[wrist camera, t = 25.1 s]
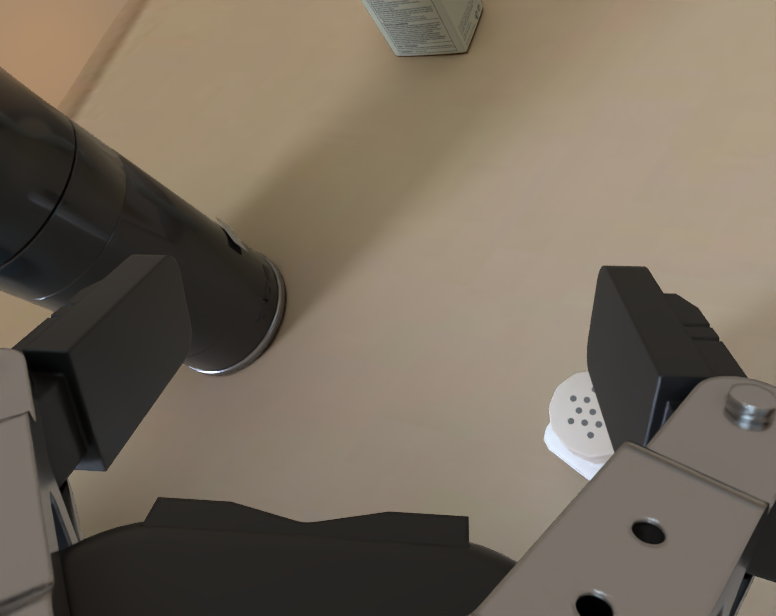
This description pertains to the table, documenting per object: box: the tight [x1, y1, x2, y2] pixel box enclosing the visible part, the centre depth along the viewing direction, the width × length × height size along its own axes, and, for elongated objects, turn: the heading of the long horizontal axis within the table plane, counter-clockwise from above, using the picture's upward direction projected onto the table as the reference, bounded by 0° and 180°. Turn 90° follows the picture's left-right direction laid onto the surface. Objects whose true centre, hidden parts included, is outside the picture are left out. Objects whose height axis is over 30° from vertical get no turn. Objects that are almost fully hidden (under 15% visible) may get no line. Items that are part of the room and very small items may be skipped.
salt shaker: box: [544, 371, 614, 481], centre depth 26 cm, size 4×4×10 cm
